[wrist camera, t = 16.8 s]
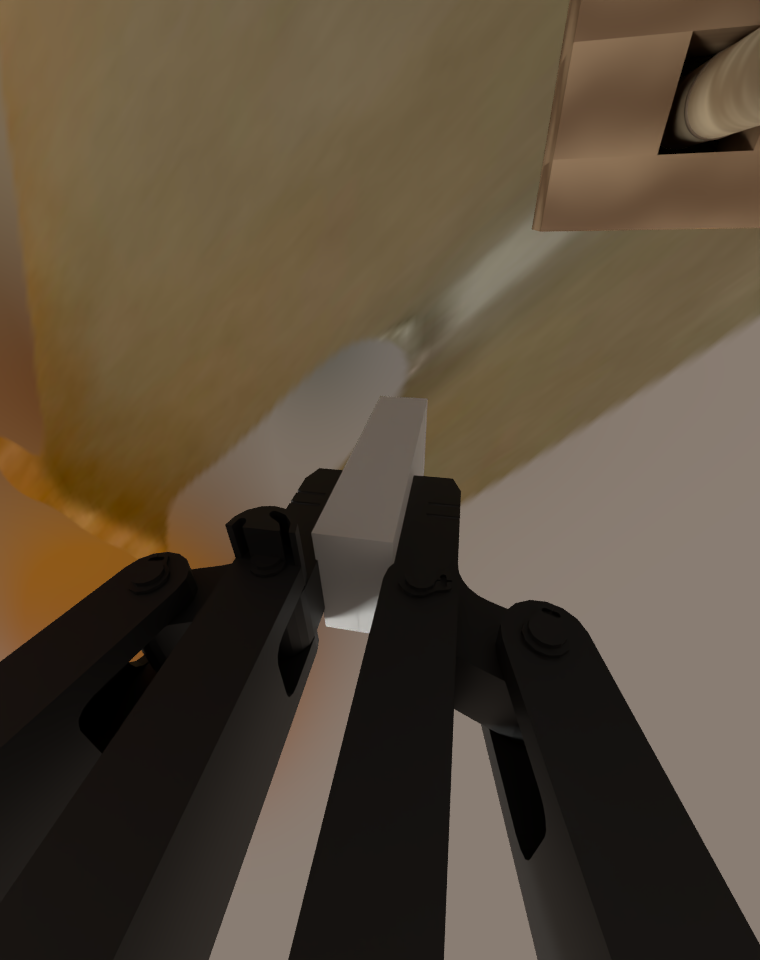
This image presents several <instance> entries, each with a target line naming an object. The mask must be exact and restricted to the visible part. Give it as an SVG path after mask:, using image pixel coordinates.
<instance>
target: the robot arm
mask: <svg viewBox="0 0 760 960" xmlns="http://www.w3.org/2000/svg"><path fill="white" fill-rule="evenodd" d="M427 400H428V399H422V398H404V397H385V396H384V397H383V396H380V398H379V400H378V402H377V404H376V406H375V408H374V410H373V412H372V414H371V416H370V418H369V420H368V422H367V424H366V426H365V428H364V430H363V432H362V434H361V436H360V438H359V439H358V441H357V443H356V445H355V447H354V449H353V451H352V453H351V455H350V457H349V459H348V461H347V463H346V465H345V467H344V469H343V470H333V469H322V468H319V469H318V470H317V471H315V472H314V473H312V474H311V475H309V476H308V477H306V478H305V480H304V481H303V483H302V485H301V486H300V488H299V489H298V493H296V494H295V496H294V497H293V499H292V500H291V503H290V504H289V505H288V507H287V508H286V509H284V508H280V507H276V506H261V507H257V508H253V509H249V510H246V511H244V512H242V513H240V514H238V515H237V516H235V517H234V518H232V519H231V520H230V521H229V522H228V523H227V524H226V528H227V532H228V535H229V538H230V541H231V544H232V548H233V550H234V554H235V557H236V558H235V560H234V561H233V563H232V564H227V565H222V566H215V567H207V568H199V569H191V568H190V566H189V563H188V561H187V559H186V558H184V557H183V556H181V555H180V554H176V553H171V552H164V553H156V554H152V555H149V556H146V557H143V558H140V559H138V560H137V561H135V562H133V563H132V564H130V565H128V566H127V567H125V568H124V569H123V570H121V571H120V572H118V573H117V574H116V575H115V576H113V577H112V578H111V579H109V580H108V581H107V582H105V583H104V584H103V585H101V586H100V587H99V588H97V589H96V590H95V591H93V592H92V593H91V594H89V595H88V596H87V597H85V598H84V599H83V600H81V601H80V602H79V603H77V604H76V605H75V606H73V607H72V608H71V609H70V610H68V611H67V612H66V613H64V614H63V615H62V616H60V617H59V618H58V619H56V620H55V621H54V622H52V623H51V624H50V625H48V626H47V627H46V628H44V629H43V630H42V631H40V632H39V633H38V634H36V635H35V636H34V637H32V638H31V639H30V640H28V641H27V642H26V643H24V644H23V645H22V646H20V647H19V648H18V649H17V650H15V651H14V652H13V653H12V654H10V655H9V656H7V657H6V658H5V659H3V660H2V661H1V662H0V960H209V957H210V954H211V951H212V948H213V946H214V943H215V940H216V937H217V934H218V931H219V928H220V926H221V923H222V920H223V917H224V914H225V912H226V909H227V906H228V903H229V900H230V897H231V894H232V892H233V889H234V886H235V883H236V880H237V877H238V875H239V872H240V869H241V866H242V863H243V860H244V857H245V855H246V852H247V849H248V846H249V843H250V840H251V838H252V835H253V832H254V829H255V826H256V823H257V820H258V817H259V815H260V812H261V809H262V806H263V803H264V801H265V798H266V795H267V792H268V789H269V786H270V784H271V781H272V778H273V775H274V772H275V769H276V767H277V764H278V761H279V758H280V755H281V752H282V749H283V746H284V743H285V741H286V738H287V735H288V732H289V730H290V727H291V724H292V721H293V718H294V715H295V712H296V710H297V707H298V704H299V701H300V698H301V695H302V692H303V690H304V687H305V684H306V681H307V678H308V675H309V672H310V670H311V667H312V664H313V661H314V658H315V656H316V653H317V649H318V642H319V639H318V634H317V628H318V625H319V623H320V620H321V617H322V615H323V612H324V617H325V623H326V626H327V627H334V628H340V629H347V630H352V631H359V632H365V633H369V637H368V641H367V645H366V650H365V653H364V657H363V661H362V665H361V669H360V674H359V678H358V682H357V685H356V689H355V694H354V697H353V702H352V705H351V709H350V713H349V717H348V722H347V726H346V730H345V734H344V738H343V742H342V746H341V750H340V754H339V758H338V762H337V766H336V770H335V774H334V778H333V782H332V786H331V790H330V794H329V798H328V802H327V806H326V810H325V814H324V818H323V822H322V826H321V830H320V834H319V838H318V842H317V847H316V850H315V854H314V858H313V862H312V866H311V870H310V874H309V879H308V883H307V886H306V890H305V894H304V899H303V903H302V907H301V911H300V915H299V919H298V923H297V927H296V931H295V935H294V939H293V943H292V947H291V951H290V955H289V959H288V960H444V941H445V916H446V890H447V867H448V866H447V865H448V841H449V817H450V792H451V767H452V766H451V764H452V742H453V716H454V709H455V710H457V711H459V712H461V713H462V714H464V715H466V716H468V717H470V718H471V719H473V720H475V721H477V722H479V723H480V724H481V726H482V730H483V734H484V739H485V742H486V747H487V751H488V755H489V759H490V763H491V767H492V772H493V776H494V780H495V784H496V788H497V793H498V797H499V801H500V805H501V809H502V813H503V817H504V822H505V826H506V830H507V834H508V838H509V842H510V847H511V851H512V855H513V859H514V863H515V867H516V871H517V875H518V880H519V884H520V888H521V892H522V896H523V901H524V905H525V909H526V913H527V917H528V921H529V925H530V930H531V934H532V938H533V942H534V946H535V950H536V955H537V959H538V960H760V944H759V942H758V941H757V939H756V937H755V935H754V933H753V931H752V930H751V928H750V926H749V924H748V922H747V921H746V919H745V917H744V915H743V913H742V912H741V910H740V908H739V906H738V904H737V902H736V900H735V899H734V897H733V895H732V893H731V891H730V890H729V888H728V886H727V884H726V882H725V880H724V879H723V877H722V875H721V873H720V871H719V870H718V868H717V866H716V864H715V862H714V861H713V859H712V857H711V855H710V853H709V851H708V850H707V848H706V846H705V845H704V843H703V841H702V839H701V837H700V835H699V833H698V832H697V830H696V828H695V826H694V824H693V822H692V821H691V819H690V817H689V815H688V813H687V812H686V810H685V808H684V806H683V804H682V802H681V801H680V799H679V797H678V795H677V793H676V792H675V790H674V788H673V786H672V784H671V783H670V781H669V779H668V777H667V775H666V773H665V771H664V770H663V768H662V766H661V764H660V762H659V761H658V759H657V757H656V755H655V753H654V751H653V750H652V748H651V746H650V744H649V743H648V741H647V739H646V737H645V735H644V733H643V732H642V730H641V728H640V726H639V724H638V722H637V721H636V719H635V717H634V715H633V713H632V712H631V710H630V708H629V706H628V704H627V703H626V701H625V699H624V697H623V695H622V694H621V692H620V690H619V688H618V686H617V684H616V683H615V681H614V679H613V677H612V675H611V674H610V672H609V670H608V668H607V666H606V664H605V662H604V661H603V659H602V657H601V655H600V654H599V652H598V650H597V648H596V646H595V644H594V643H593V641H592V639H591V637H590V635H589V633H588V632H587V631H586V630H585V628H584V627H583V626H582V624H581V623H580V622H579V621H578V619H576V618H575V617H574V616H572V615H571V614H570V613H568V612H567V611H566V610H564V609H563V608H560V607H558V606H555V605H553V604H550V603H548V602H543V601H534V600H528V601H523V602H519V603H515V604H514V605H513V606H511V607H510V608H509V609H506V608H504V607H501V606H499V605H497V604H494V603H492V602H489V601H487V600H486V599H484V598H482V597H480V596H478V595H477V594H476V593H474V592H473V591H472V590H471V589H469V588H468V587H467V585H466V584H465V583H464V581H463V580H462V578H461V576H460V574H459V570H458V547H459V523H460V521H459V519H460V499H461V491H460V489H459V488H458V486H457V484H456V483H455V481H454V480H453V479H450V478H439V477H427V476H423V475H424V460H425V440H426V420H427ZM141 650H142V652H143V653H144V656H142V657H141V658H140V659H138V660H137V661H134V662H129V661H130V660H131V659H132V658H133V657H134V656H135V655H136V654H137V653H138V652H139V651H141Z"/></svg>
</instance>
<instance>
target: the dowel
mask: <svg viewBox="0 0 760 960" xmlns="http://www.w3.org/2000/svg"><path fill="white" fill-rule="evenodd" d="M756 126H760V28H758V29H757V30H755V31H754V32H752V33H751V34H749V35H748V36H746V37H744V38H743V39H741V40H740V41H738V42H737V43H735V44H733V45H731V46H729V47H727V48H725V49H724V50H722V51H721V52H719V53H718V54H716V55H715V56H714V57H713V58H712V59H710V60H709V61H707V62H706V63H704V64H702V65H701V66H699V67H698V68H696V69H695V70H693V71H692V72H690V73H688V74H687V75H685V76H684V77H682V78H681V79H679V81H678V85H677V88H676V91H675V95H674V98H673V102H672V105H671V109H670V112H669V116H668V119H667V123H666V126H665V129H664V133H663V136H662V140H661V143H660V145H661V146H662V147H664V148H666V149H669V150H680V149H684V148H687V147H690V146H694V145H697V144H700V143H704V142H707V141H710V140H717V139H720V138H724V137H726V136H729V135H731V134H733V133H737V132H740V131H743V130H746V129H750V128H753V127H756Z"/></svg>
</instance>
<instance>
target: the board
mask: <svg viewBox="0 0 760 960" xmlns="http://www.w3.org/2000/svg"><path fill="white" fill-rule="evenodd" d="M758 28H760V0H570V2H569V8H568V14H567V20H566V26H565V32H564V38H563V44H562V50H561V56H560V62H559V69H558V75H557V81H556V87H555V93H554V99H553V105H552V111H551V117H550V123H549V129H548V135H547V141H546V147H545V153H544V159H543V165H542V171H541V177H540V184H539V190H538V196H537V202H536V208H535V214H534V220H533V226H532V229H533V230H537V231H601V230H660V229H720V228H760V126H756V127H753V128H750V129H746V130H743V131H740V132H737V133H733V134H731V135H729V136H726V137H724V138H720V140H719V143H718V146H717V149H716V152H710V153H688V154H667V155H657V154H658V150H659V147H660V143H661V140H662V136H663V133H664V129H665V126H666V123H667V119H668V116H669V112H670V109H671V105H672V102H673V98H674V95H675V91H676V88H677V85H678V81H679V78H680V74H681V71H682V67H683V64H684V60H685V57H697V56H709V55H716V54H718V53H719V52H721V51H722V50H724V49H725V48H727V47H729V46H731V45H733V44H735V43H737V42H738V41H740V40H741V39H743V38H744V37H746V36H748V35H749V34H751V33H752V32H754V31H755V30H757V29H758Z"/></svg>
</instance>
